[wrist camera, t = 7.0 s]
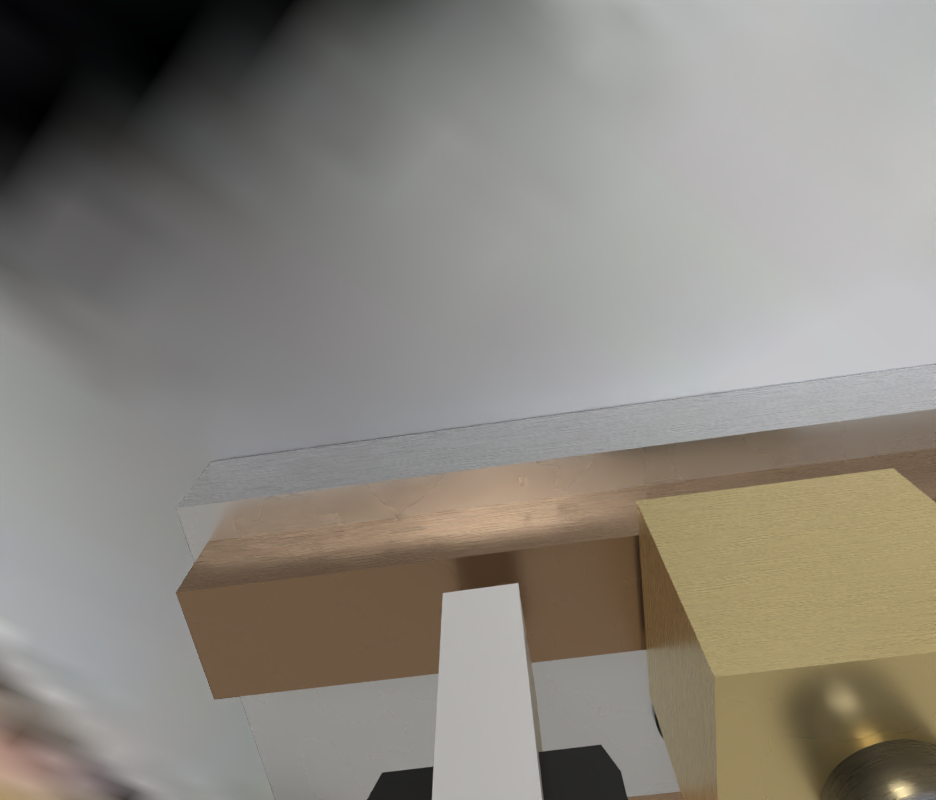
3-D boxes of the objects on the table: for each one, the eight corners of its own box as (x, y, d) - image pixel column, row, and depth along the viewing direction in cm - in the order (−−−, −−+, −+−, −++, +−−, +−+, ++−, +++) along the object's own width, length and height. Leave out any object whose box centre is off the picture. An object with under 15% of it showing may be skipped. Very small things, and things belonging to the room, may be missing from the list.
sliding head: (618, 461, 16) (758, 779, 8) (847, 431, 15) (1218, 732, 8) (643, 780, 19) (757, 1212, 12) (829, 760, 19) (1072, 1189, 11)
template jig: (211, 461, 19) (-2, 741, 10) (1260, 320, 18) (2028, 510, 9) (304, 760, 23) (205, 1145, 14) (1166, 666, 22) (1636, 1030, 13)
